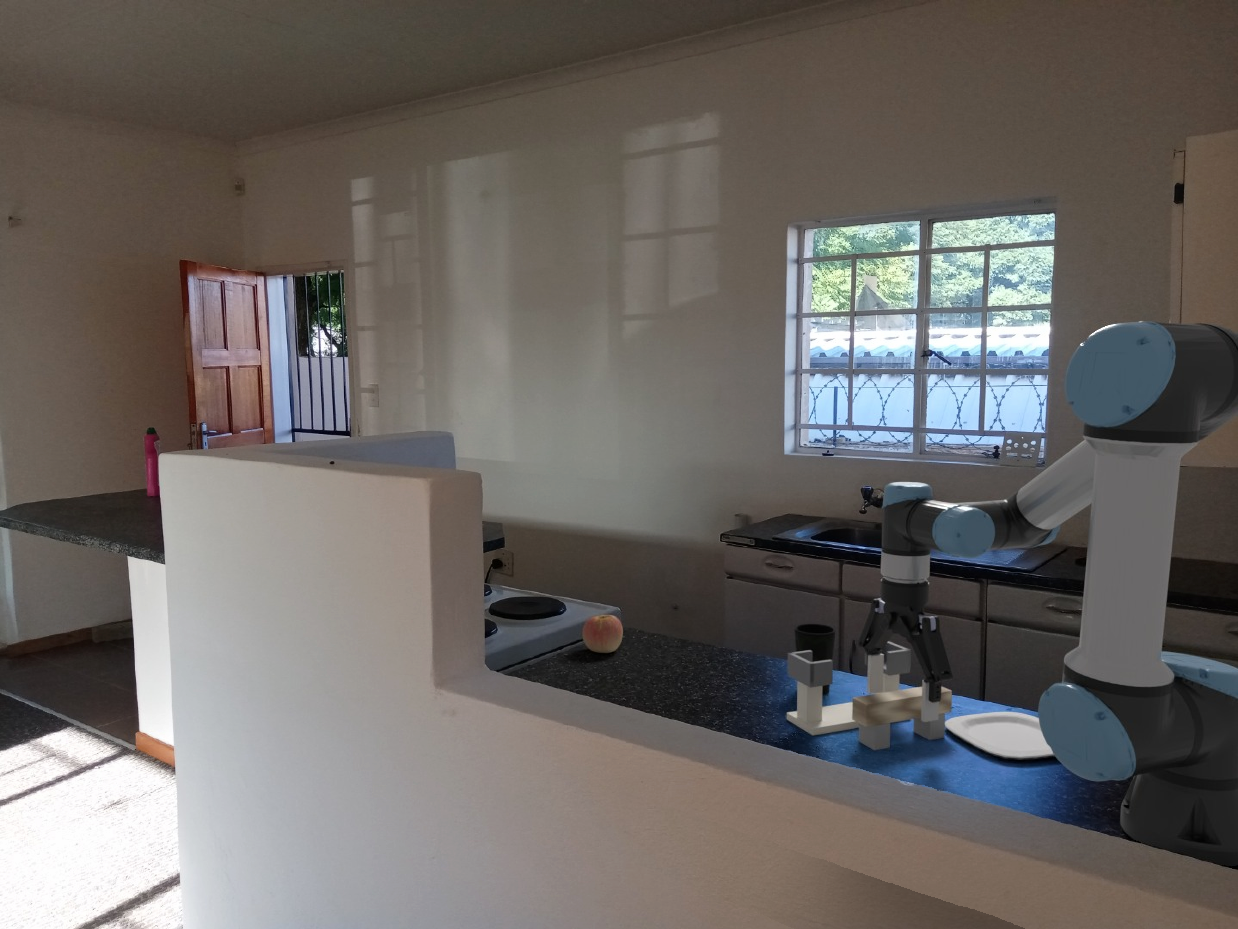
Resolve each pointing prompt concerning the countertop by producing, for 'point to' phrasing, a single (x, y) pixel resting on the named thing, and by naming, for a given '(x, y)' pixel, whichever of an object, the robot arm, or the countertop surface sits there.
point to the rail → (894, 706)
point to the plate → (1002, 734)
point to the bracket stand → (821, 673)
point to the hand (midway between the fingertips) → (901, 705)
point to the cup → (816, 643)
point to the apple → (603, 633)
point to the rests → (880, 734)
